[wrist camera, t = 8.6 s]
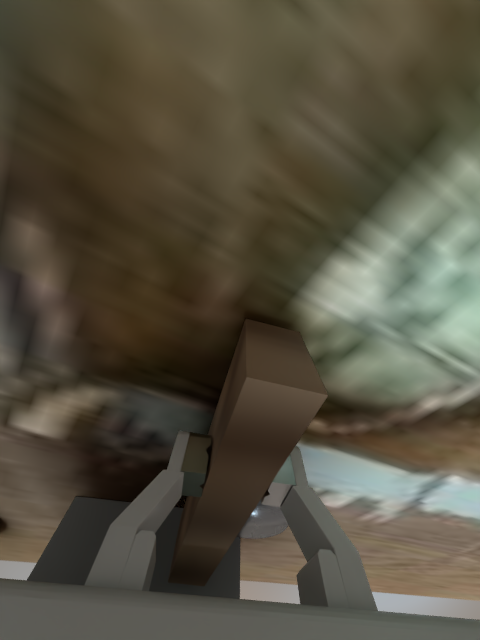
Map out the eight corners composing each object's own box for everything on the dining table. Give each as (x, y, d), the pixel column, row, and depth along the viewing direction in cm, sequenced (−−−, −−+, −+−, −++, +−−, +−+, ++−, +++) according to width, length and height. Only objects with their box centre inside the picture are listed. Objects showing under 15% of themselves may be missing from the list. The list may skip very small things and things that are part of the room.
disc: (227, 469, 16) (225, 502, 14) (292, 479, 16) (298, 512, 14) (214, 501, 18) (211, 534, 16) (272, 509, 18) (275, 541, 17)
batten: (245, 318, 9) (246, 377, 6) (299, 332, 9) (328, 395, 6) (181, 513, 17) (167, 582, 14) (211, 518, 17) (204, 586, 14)
